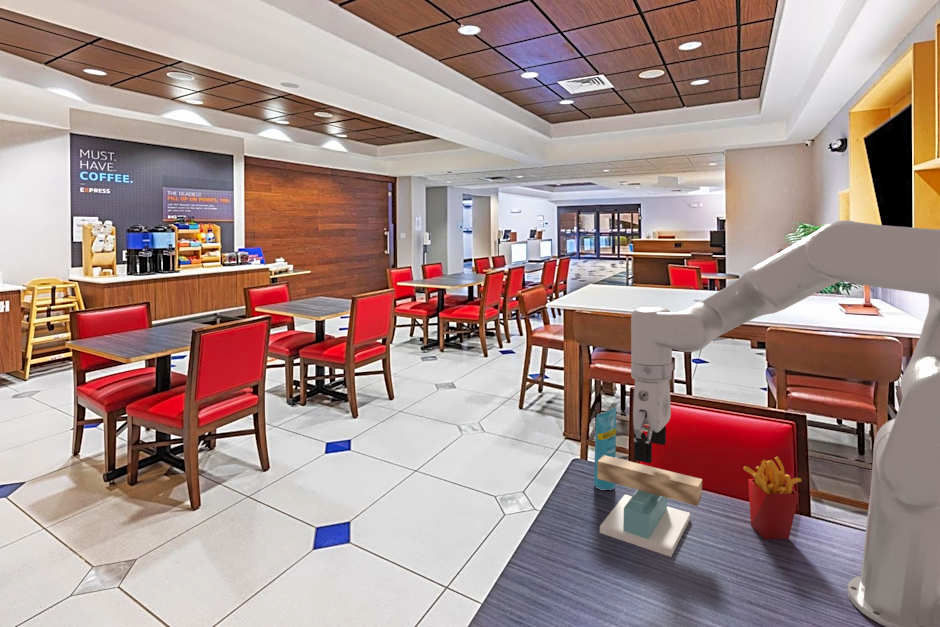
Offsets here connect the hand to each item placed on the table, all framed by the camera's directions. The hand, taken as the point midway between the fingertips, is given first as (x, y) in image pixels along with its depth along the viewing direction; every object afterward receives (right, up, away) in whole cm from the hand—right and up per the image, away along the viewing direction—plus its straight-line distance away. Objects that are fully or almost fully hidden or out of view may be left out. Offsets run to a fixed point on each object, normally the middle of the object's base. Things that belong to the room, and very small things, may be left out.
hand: (650, 452), depth 102 cm
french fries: (+23, -16, +1) cm, 28 cm away
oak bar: (0, -8, +2) cm, 8 cm away
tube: (-4, -14, +19) cm, 24 cm away
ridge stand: (0, -16, +3) cm, 17 cm away
